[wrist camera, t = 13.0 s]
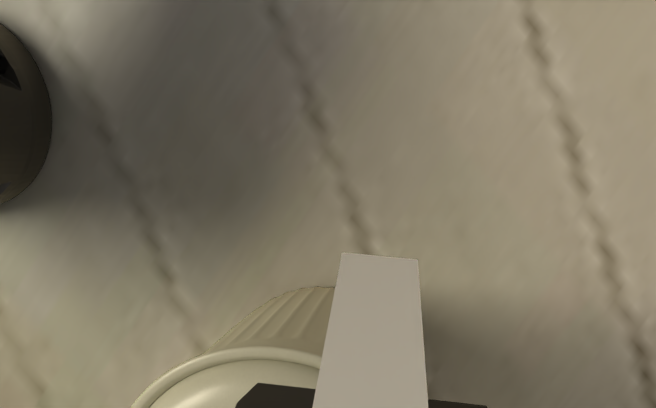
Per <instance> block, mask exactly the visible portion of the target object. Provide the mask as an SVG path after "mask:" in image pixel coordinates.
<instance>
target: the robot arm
mask: <svg viewBox="0 0 656 408" xmlns="http://www.w3.org/2000/svg"><path fill="white" fill-rule="evenodd" d="M51 124H52V120H51V108H50V102H49V97H48V93H47V89H46V86H45V83H44V81H43V78H42V75H41V73H40V71H39V69H38V67H37V65H36V63H35V62H34V60H33V58H32V57H31V55H30V54H29V52H28V51H27V50H26V48H25V47H24V46H23V45H22V43H21V42H20V41H19V40H18V39H17V38H16V37H15V36H14V35H13V34H12V33H11V32H10V31H9V30H7V29H6V28H5V27H4V26H2V25H1V24H0V204H1V203H3V202H6V201H8V200H10V199H12V198H14V197H15V196H17V195H18V194H19V193H21V192H22V191H23V190H24V189H25V188H26V187H27V186H28V185H29V184H30V183H31V182H32V181H33V180H34V178H35V177H36V175H37V174H38V172H39V171H40V169H41V167H42V165H43V163H44V160H45V158H46V155H47V152H48V148H49V144H50V138H51ZM235 408H487V406H483V405H474V404H465V403H456V402H447V401H438V400H429V399H428V395H427V381H426V367H425V353H424V339H423V324H422V310H421V296H420V282H419V268H418V259H409V258H398V257H388V256H377V255H366V254H356V253H345V252H342V255H341V261H340V266H339V271H338V276H337V281H336V287H335V292H334V297H333V302H332V308H331V313H330V318H329V323H328V328H327V334H326V339H325V344H324V349H323V354H322V360H321V365H320V370H319V375H318V380H317V386H316V389H311V388H302V387H293V386H284V385H275V384H266V383H257V384H256V385H255V386H254V387H253V388H252V389H251V390H250V391H249V392H248V393H247V394H246V395H244V396H243V397H242V398H241V399H240V400H239V401H238V402H237V404H236V406H235Z"/></svg>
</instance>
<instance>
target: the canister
mask: <svg viewBox="0 0 656 408" xmlns="http://www.w3.org/2000/svg"><path fill="white" fill-rule="evenodd" d="M334 292H335V288H333V287H330V288H321V287H318V286H317V287H314V288H301V289H299V290H297V291H294V292H292V291H290V292H286V293H284V294H283V295H282V296H280V297H276V298H273V299H271V300H270V301H268V302H267V303H266V304H264V305H263V306H261V307H259V308H258V309H256V310H255V311H254V312H252V313H251V314H250V315H248V316H247V317H246V318H245V319H243V320H242V321H241V322H239V323H238V324H237V325H236V326H235V327H233V328H232V329H231V330H230V331H229V332H227V333H226V334H225V335H224V336H223V337H222V338H221V339H219V340H218V341H217V342H216V343H215V344H214V345H213V346H211V347H210V348H209V349H208V350H207V351H206V352H204V353H203V354H202V355H199V356H196V357H194V358H192V359H189V360H187V361H185V362H183V363H181V364H179V365H177V366H175V367H174V368H172V369H170V370H169V371H167V372H166V373H164V374H163V375H162V376H160V377H159V378H158V379H157V380H155V381H154V382H153V383H152V384H151V385H150V386H149V387H148V388H147V389H146V390H145V391H144V392H143V393H142V394H141V395H140V396H139V397H138V399H137V400H136V401H135V402H134V404H133V405H132V406H131V408H235V406H236V404H237V402H238V401H239V400H240V399H241V398H242V397H243V396H244V395H246V394H247V393H248V392H249V391H250V390H251V389H252V388H253V387H254V386H255V385H256V384H257V383H266V384H275V385H284V386H293V387H302V388H311V389H316V386H317V380H318V375H319V370H320V365H321V360H322V354H323V349H324V344H325V339H326V334H327V328H328V323H329V318H330V313H331V308H332V302H333V297H334ZM427 395H428V394H427ZM428 399H429V398H428Z"/></svg>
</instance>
